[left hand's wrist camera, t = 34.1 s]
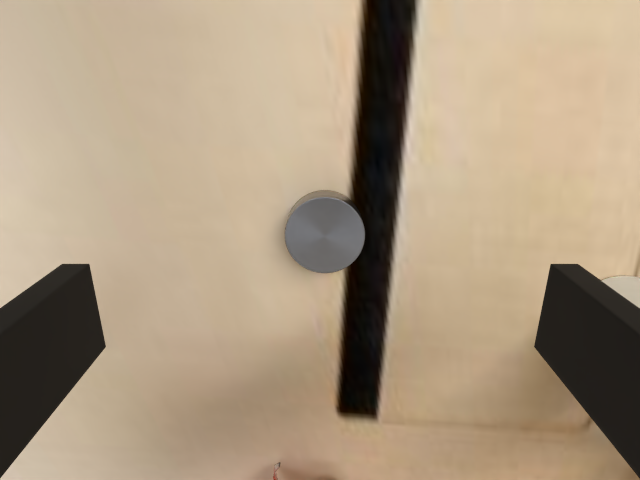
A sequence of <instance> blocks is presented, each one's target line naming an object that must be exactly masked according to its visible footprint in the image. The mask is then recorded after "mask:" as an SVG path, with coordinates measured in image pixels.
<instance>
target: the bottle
mask: <svg viewBox="0 0 640 480" xmlns="http://www.w3.org/2000/svg"><path fill="white" fill-rule="evenodd" d="M601 281H602V282H604V283H605V284H606V285H608V286H609V287H611V288H612V289H613V290H615V291H616V292H618V293H619V294H620V295H622V296H623V297H625V298H626V299H627V300H629V301H630V302H632V303H633V304H634V305H636V306H637V307H639V308H640V278H639V277H634V276H615V277H610V278H606V279H603V280H601Z"/></svg>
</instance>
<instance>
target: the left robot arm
mask: <svg viewBox="0 0 640 480" xmlns="http://www.w3.org/2000/svg"><path fill="white" fill-rule="evenodd" d="M105 347H106V346H105V341H104V336H103V331H102V326H101V321H100V316H99V311H98V306H97V301H96V296H95V291H94V285H93V280H92V275H91V270H90V265H89V264H62V265H60V266H59V267H57V268H56V269H55V270H53V271H52V272H50V273H49V274H48V275H46V276H45V277H43V278H42V279H41V280H39V281H38V282H36V283H35V284H34V285H32V286H31V287H29V288H28V289H27V290H25V291H24V292H22V293H21V294H20V295H18V296H17V297H15V298H14V299H13V300H11V301H10V302H8V303H7V304H6V305H4V306H3V307H1V308H0V478H1V477H2V475H3V474H4V473H5V472H6V470H7V469H8V468H9V467H10V465H11V464H12V463H13V462H14V460H15V459H16V458H17V457H18V455H19V454H20V453H21V452H22V450H23V449H24V448H25V447H26V445H27V444H28V443H29V442H30V440H31V439H32V438H33V437H34V436H35V434H36V433H37V432H38V431H39V429H40V428H41V427H42V426H43V424H44V423H45V422H46V421H47V419H48V418H49V417H50V416H51V414H52V413H53V412H54V411H55V409H56V408H57V407H58V406H59V404H60V403H61V402H62V401H63V399H64V398H65V397H66V396H67V394H68V393H69V392H70V391H71V389H72V388H73V387H74V386H75V384H76V383H77V382H78V381H79V379H80V378H81V377H82V376H83V374H84V373H85V372H86V371H87V370H88V368H89V367H90V366H91V365H92V363H93V362H94V361H95V360H96V358H97V357H98V356H99V355H100V353H101V352H102V351H103V350H104V348H105ZM534 347H535V348H536V350H537V351H538V352H539V353H540V355H541V356H542V357H543V358H544V360H545V361H546V362H547V363H548V365H549V366H550V367H551V368H552V370H553V371H554V372H555V373H556V374H557V376H558V377H559V378H560V379H561V381H562V382H563V383H564V384H565V386H566V387H567V388H568V389H569V391H570V392H571V393H572V394H573V396H574V397H575V398H576V399H577V401H578V402H579V403H580V404H581V406H582V407H583V408H584V409H585V411H586V412H587V413H588V414H589V416H590V417H591V418H592V419H593V421H594V422H595V423H596V424H597V426H598V427H599V428H600V429H601V431H602V432H603V433H604V434H605V436H606V437H607V438H608V439H609V440H610V442H611V443H612V444H613V445H614V447H615V448H616V449H617V450H618V452H619V453H620V454H621V455H622V457H623V458H624V459H625V460H626V462H627V463H628V464H629V465H630V467H631V468H632V469H633V470H634V472H635V473H636V474H637V475H638V477H639V478H640V308H639V307H637V306H636V305H634V304H633V303H632V302H630V301H629V300H627V299H626V298H625V297H623V296H622V295H620V294H619V293H618V292H616V291H615V290H613V289H612V288H611V287H609V286H608V285H606V284H605V283H604V282H602V281H601V280H599V279H598V278H597V277H595V276H594V275H592V274H591V273H590V272H588V271H587V270H585V269H584V268H583V267H581V266H580V265H578V264H551V265H550V270H549V275H548V280H547V285H546V290H545V296H544V301H543V306H542V311H541V316H540V321H539V326H538V331H537V336H536V341H535V346H534Z"/></svg>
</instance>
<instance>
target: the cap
mask: <svg viewBox="0 0 640 480" xmlns="http://www.w3.org/2000/svg"><path fill="white" fill-rule="evenodd" d="M364 240H365V229H364V225H363V221H362V218H361V215H360V213H359V210H358V209H357V207H356V206H355V204H354V203H353V202H352V201H351V200H350V199H349V198H347V197H346V196H344V195H342V194H340V193H338V192H334V191H328V190H322V191H316V192H312V193H310V194H307V195H306V196H304V197H302V198H301V199H300V200H299V201H298V202H297V203H296V204H295V205H294V207H293V208H292V210H291V212H290V214H289V217H288V221H287V224H286V228H285V241H286V246H287V249H288V251H289V253H290V254H291V256H292V257H293V259H294V260H295V261H296V262H297V263H298V264H300V265H301V266H302V267H304V268H306V269H308V270H311V271H314V272H318V273H332V272H336V271H339V270H342V269H344V268H346V267H347V266H349V265H350V264H351V263H352V262H354V261H355V259H356V258H357V257H358V256H359V254H360V252H361V250H362V248H363V245H364Z"/></svg>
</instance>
